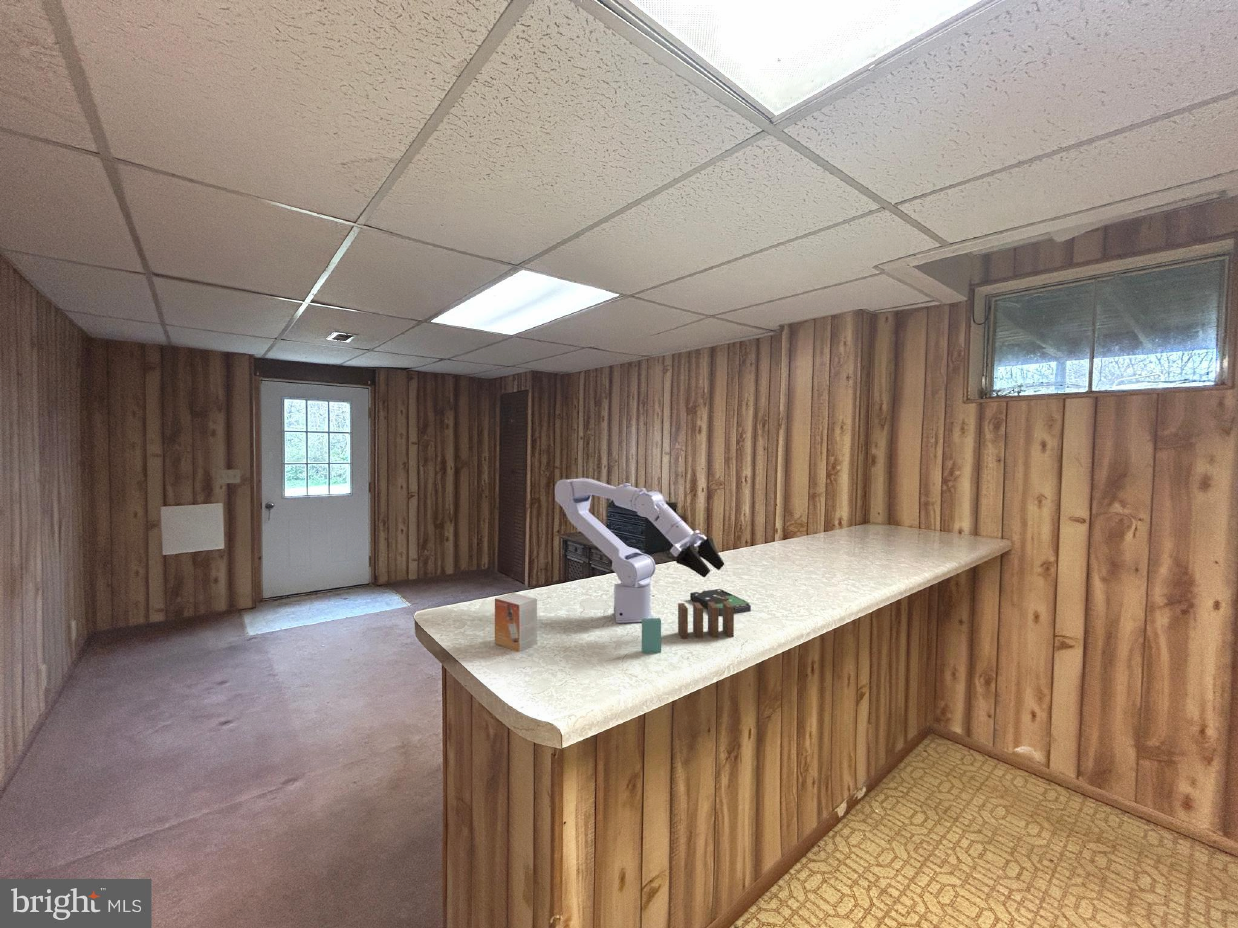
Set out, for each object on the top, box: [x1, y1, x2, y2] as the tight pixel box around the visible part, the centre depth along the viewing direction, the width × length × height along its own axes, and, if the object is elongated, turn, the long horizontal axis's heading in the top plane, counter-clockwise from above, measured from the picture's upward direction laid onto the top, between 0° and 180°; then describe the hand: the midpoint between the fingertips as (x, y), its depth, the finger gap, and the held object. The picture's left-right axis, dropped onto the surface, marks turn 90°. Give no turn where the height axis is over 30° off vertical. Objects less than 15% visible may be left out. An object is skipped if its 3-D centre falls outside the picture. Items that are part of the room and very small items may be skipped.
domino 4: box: [722, 602, 735, 638], centre depth 117 cm, size 1×4×7 cm, turn 5°
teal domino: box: [641, 617, 662, 654], centre depth 107 cm, size 1×4×7 cm, turn 95°
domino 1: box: [677, 602, 689, 640], centre depth 116 cm, size 1×4×7 cm, turn 5°
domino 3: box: [707, 602, 720, 639], centre depth 116 cm, size 1×4×7 cm, turn 5°
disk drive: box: [689, 588, 752, 617], centre depth 137 cm, size 10×3×15 cm
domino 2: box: [692, 602, 704, 639], centre depth 116 cm, size 1×4×7 cm, turn 5°
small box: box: [494, 592, 538, 653], centre depth 111 cm, size 8×6×10 cm
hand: (714, 570), depth 115 cm, fingers open, 7 cm apart
